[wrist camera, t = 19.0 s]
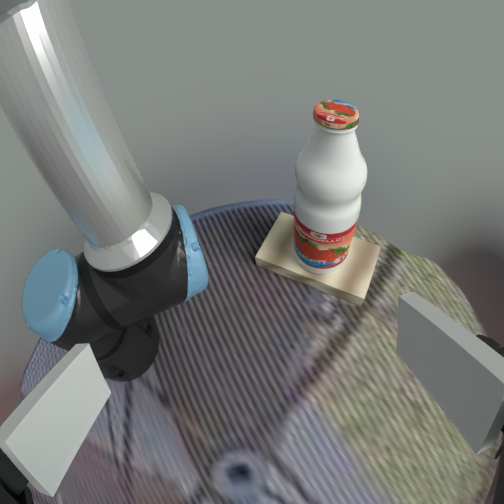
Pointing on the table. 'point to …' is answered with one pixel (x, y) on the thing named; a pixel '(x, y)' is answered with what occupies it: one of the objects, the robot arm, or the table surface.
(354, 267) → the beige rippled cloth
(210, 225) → the table surface
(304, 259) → the fruit juice
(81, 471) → the table surface
